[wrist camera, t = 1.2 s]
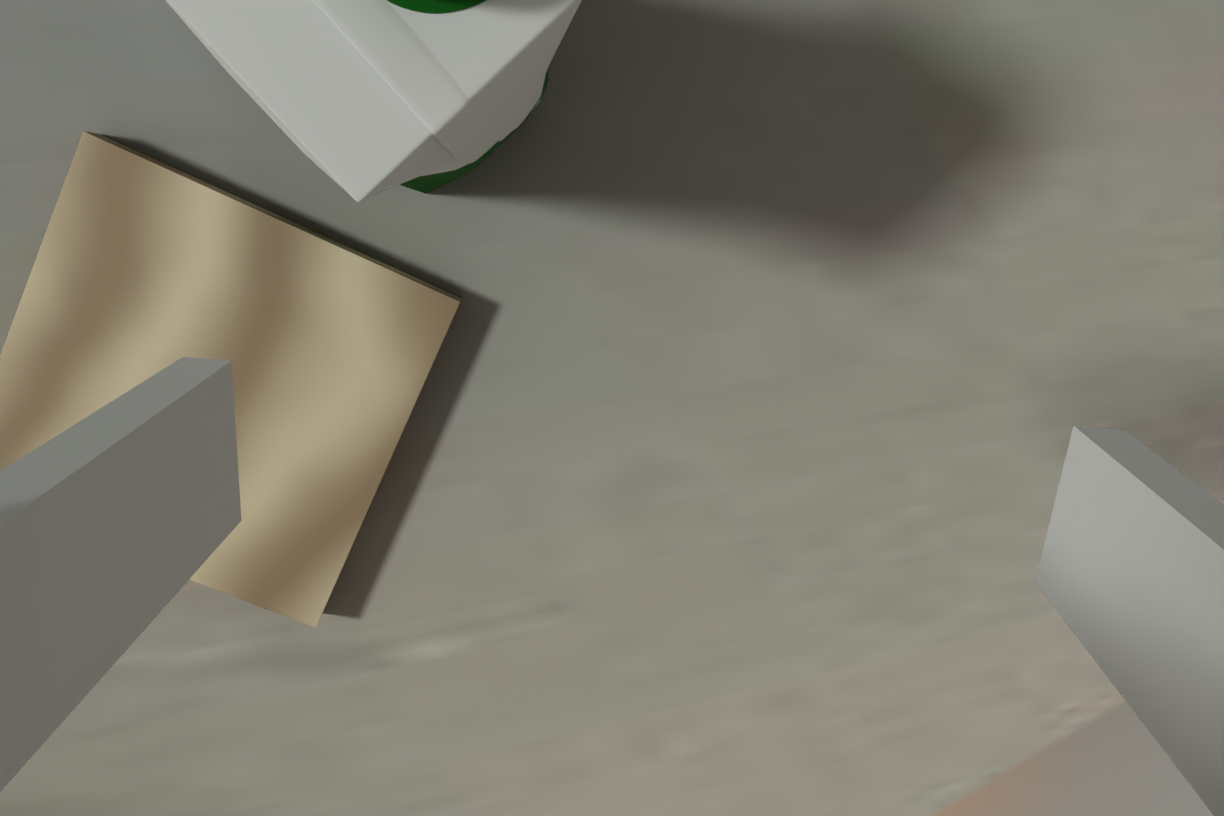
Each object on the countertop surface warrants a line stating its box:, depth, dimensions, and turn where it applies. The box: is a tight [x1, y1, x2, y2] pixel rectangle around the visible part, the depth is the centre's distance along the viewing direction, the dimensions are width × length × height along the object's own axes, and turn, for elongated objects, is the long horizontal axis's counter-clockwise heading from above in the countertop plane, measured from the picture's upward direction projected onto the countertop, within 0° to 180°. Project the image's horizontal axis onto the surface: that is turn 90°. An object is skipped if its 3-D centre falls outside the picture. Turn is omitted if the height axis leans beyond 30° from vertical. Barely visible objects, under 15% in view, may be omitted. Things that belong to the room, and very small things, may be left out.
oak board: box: [0, 131, 462, 628], centre depth 41 cm, size 16×16×2 cm
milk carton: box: [166, 0, 582, 202], centre depth 30 cm, size 9×9×20 cm
